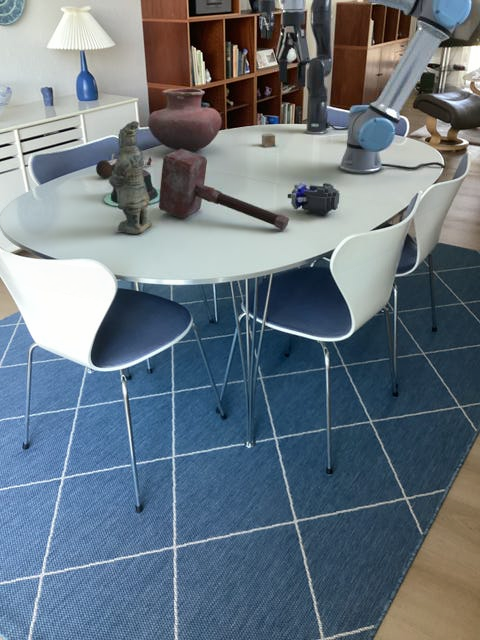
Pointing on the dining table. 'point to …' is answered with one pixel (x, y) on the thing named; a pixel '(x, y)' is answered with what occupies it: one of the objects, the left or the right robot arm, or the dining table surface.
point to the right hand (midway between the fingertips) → (291, 84)
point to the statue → (131, 182)
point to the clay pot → (185, 121)
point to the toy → (315, 198)
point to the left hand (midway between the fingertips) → (266, 38)
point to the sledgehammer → (200, 190)
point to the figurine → (110, 167)
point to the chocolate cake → (152, 192)
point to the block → (268, 140)
